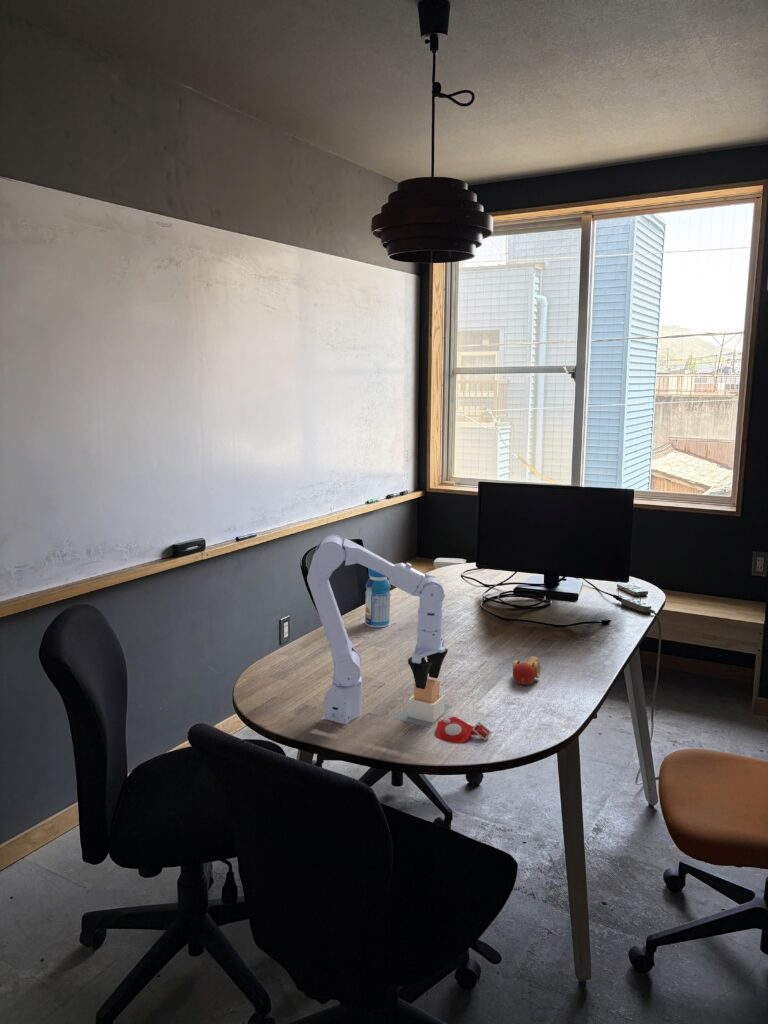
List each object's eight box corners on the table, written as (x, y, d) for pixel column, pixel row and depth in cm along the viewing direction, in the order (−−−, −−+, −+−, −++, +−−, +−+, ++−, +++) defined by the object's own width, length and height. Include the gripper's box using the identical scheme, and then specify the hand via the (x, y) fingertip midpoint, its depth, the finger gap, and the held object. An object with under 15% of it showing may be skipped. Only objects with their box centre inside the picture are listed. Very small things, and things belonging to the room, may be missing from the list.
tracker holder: (443, 746, 167) (427, 717, 176) (445, 761, 169) (429, 732, 178) (493, 729, 170) (475, 702, 178) (494, 744, 172) (477, 716, 180)
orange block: (431, 705, 180) (432, 687, 179) (413, 701, 182) (414, 684, 181) (438, 698, 184) (439, 681, 183) (421, 695, 186) (422, 677, 185)
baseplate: (429, 730, 177) (429, 727, 177) (394, 721, 181) (394, 718, 181) (452, 708, 189) (452, 705, 189) (419, 701, 193) (419, 698, 193)
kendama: (517, 668, 222) (504, 681, 205) (523, 647, 221) (510, 659, 204) (543, 677, 219) (532, 691, 202) (549, 656, 218) (538, 668, 202)
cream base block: (433, 722, 179) (433, 705, 178) (408, 716, 182) (408, 699, 181) (444, 712, 185) (444, 695, 184) (419, 706, 188) (420, 689, 187)
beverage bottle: (381, 630, 249) (382, 570, 245) (359, 625, 253) (360, 566, 250) (394, 623, 256) (396, 565, 252) (373, 619, 260) (374, 562, 257)
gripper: (432, 639, 172) (430, 696, 174) (456, 623, 184) (454, 676, 187) (404, 634, 175) (402, 690, 177) (430, 618, 188) (427, 670, 190)
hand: (427, 682), depth 182 cm, fingers open, 7 cm apart
